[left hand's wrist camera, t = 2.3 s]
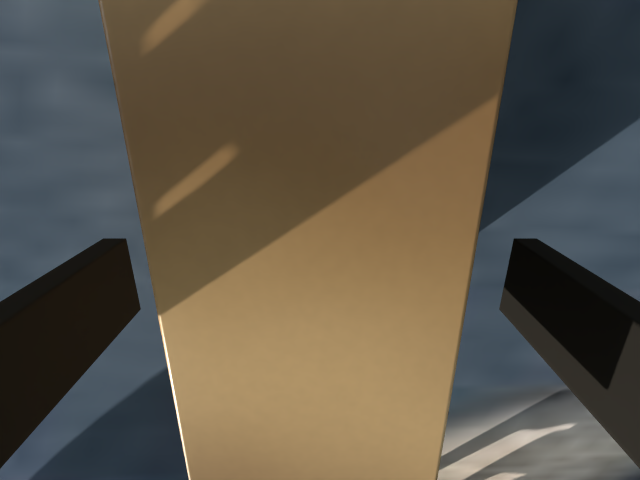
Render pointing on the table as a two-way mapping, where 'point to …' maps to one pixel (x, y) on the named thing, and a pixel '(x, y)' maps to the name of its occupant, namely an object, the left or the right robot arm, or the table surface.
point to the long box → (310, 219)
